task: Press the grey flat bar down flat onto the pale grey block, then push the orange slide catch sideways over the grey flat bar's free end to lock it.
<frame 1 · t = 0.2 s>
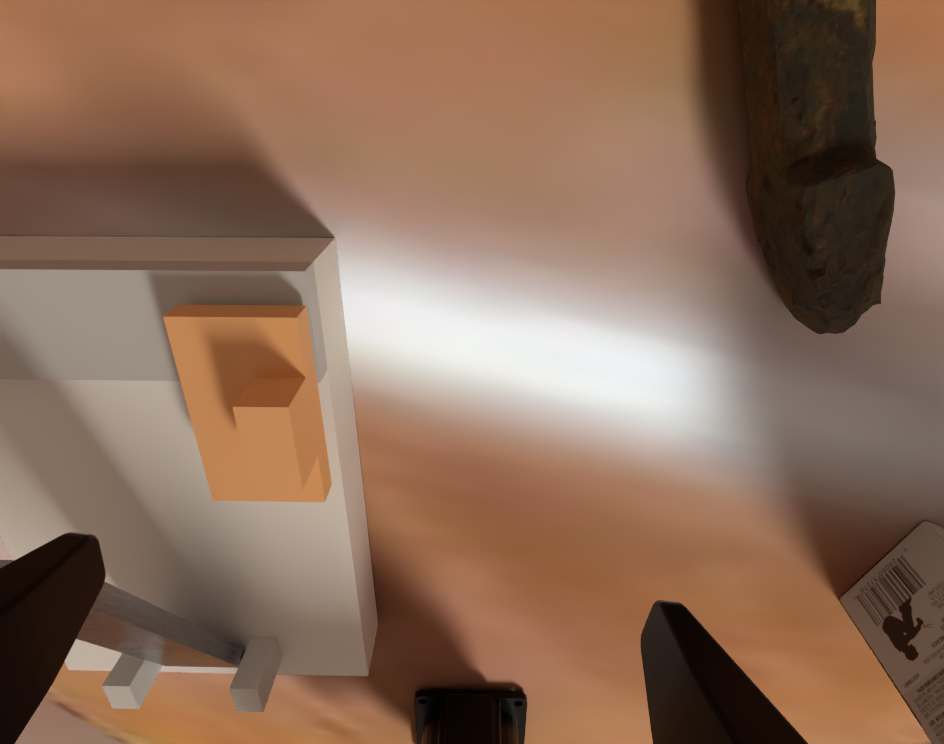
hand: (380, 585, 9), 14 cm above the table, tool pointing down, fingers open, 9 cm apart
grey flat bar: (131, 629, 21), point 7 cm above the table, hinge at 28.0°
hand tool: (786, 33, 18), on the table
mount block: (197, 465, 26), on the table
catch: (246, 424, 18), point 6 cm above the table, slide at -5.5 cm
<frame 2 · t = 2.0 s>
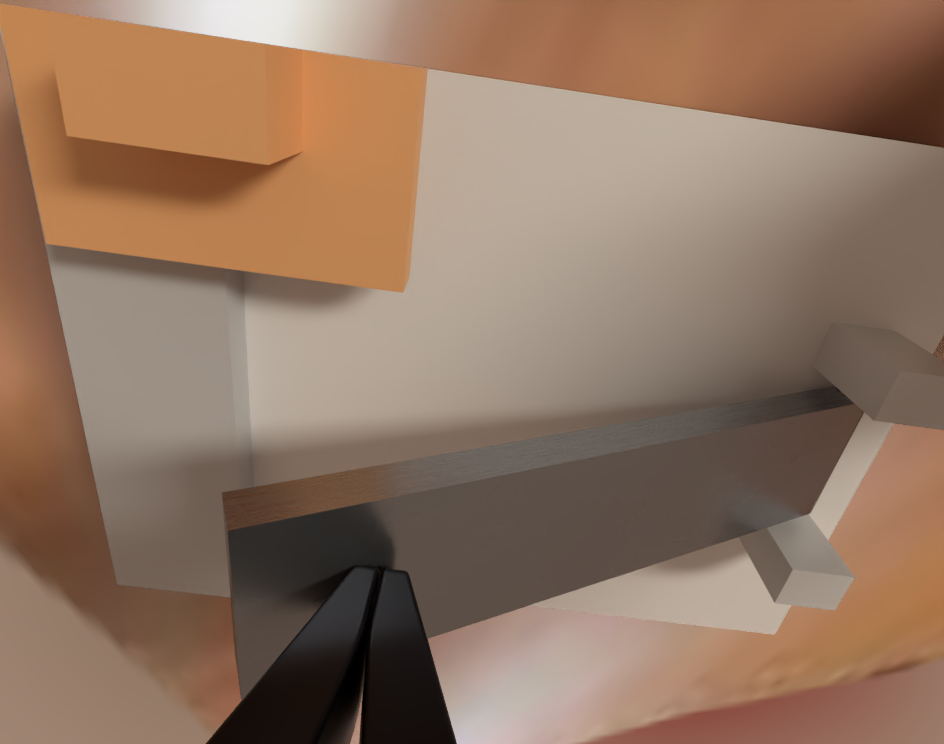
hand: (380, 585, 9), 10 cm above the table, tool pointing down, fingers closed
grey flat bar: (615, 504, 12), point 7 cm above the table, hinge at 27.4°, touching gripper
mount block: (496, 352, 18), on the table
catch: (210, 165, 10), point 6 cm above the table, slide at -5.5 cm
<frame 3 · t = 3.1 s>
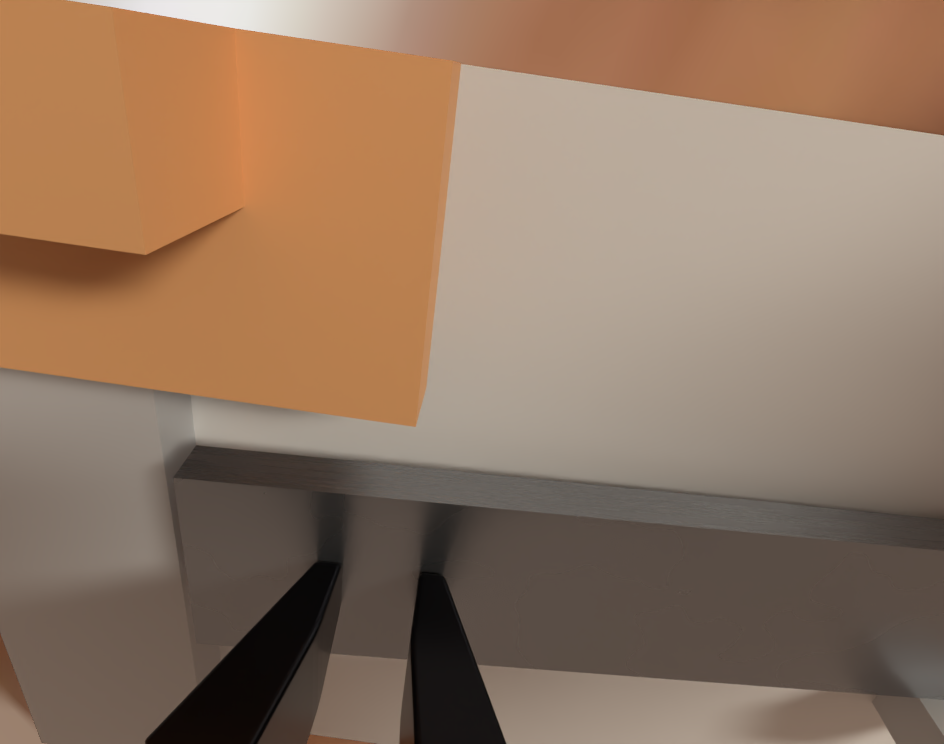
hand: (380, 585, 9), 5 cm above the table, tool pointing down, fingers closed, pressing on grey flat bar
grey flat bar: (639, 587, 10), point 4 cm above the table, hinge at 4.0°, touching gripper
mount block: (542, 443, 13), on the table
catch: (81, 233, 6), point 6 cm above the table, slide at -5.5 cm
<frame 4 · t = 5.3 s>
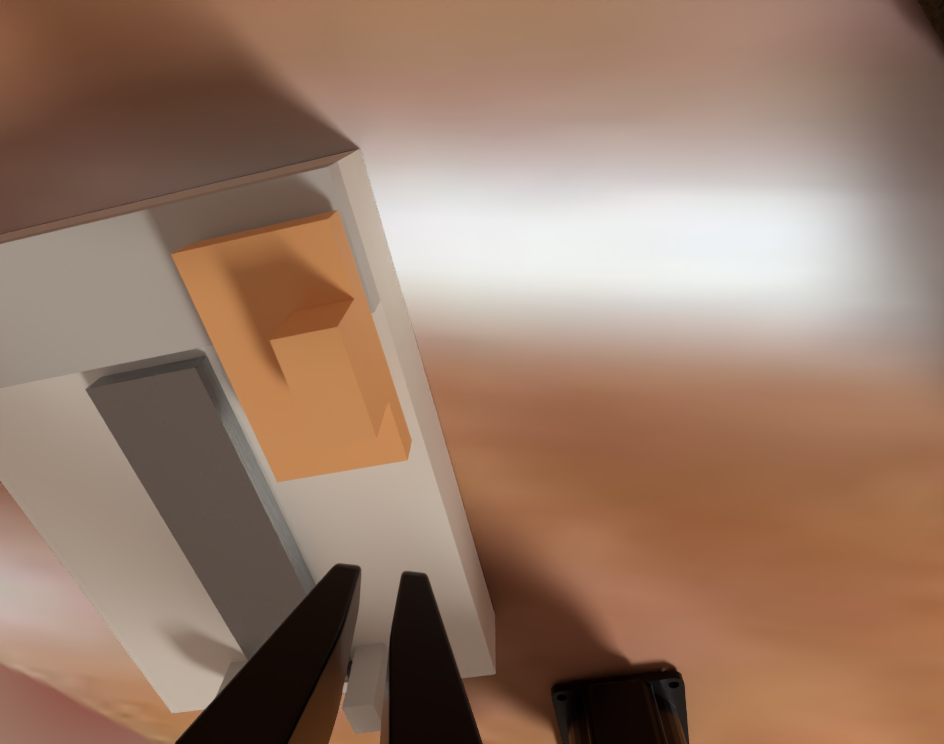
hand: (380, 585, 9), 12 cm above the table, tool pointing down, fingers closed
grey flat bar: (242, 552, 21), point 3 cm above the table, hinge at 0.0°
mount block: (261, 461, 23), on the table
catch: (295, 373, 15), point 6 cm above the table, slide at -5.5 cm
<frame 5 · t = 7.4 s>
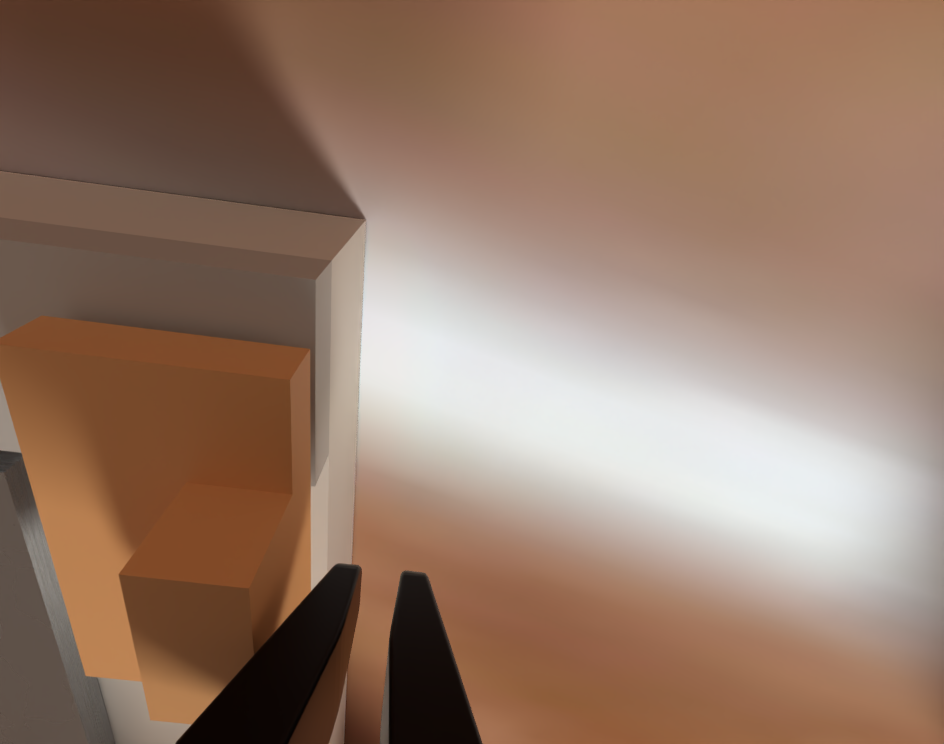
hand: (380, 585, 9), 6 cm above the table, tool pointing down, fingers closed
grey flat bar: (16, 695, 14), point 3 cm above the table, hinge at 0.0°
mount block: (92, 548, 17), on the table
catch: (158, 571, 9), point 6 cm above the table, slide at -5.5 cm, touching gripper
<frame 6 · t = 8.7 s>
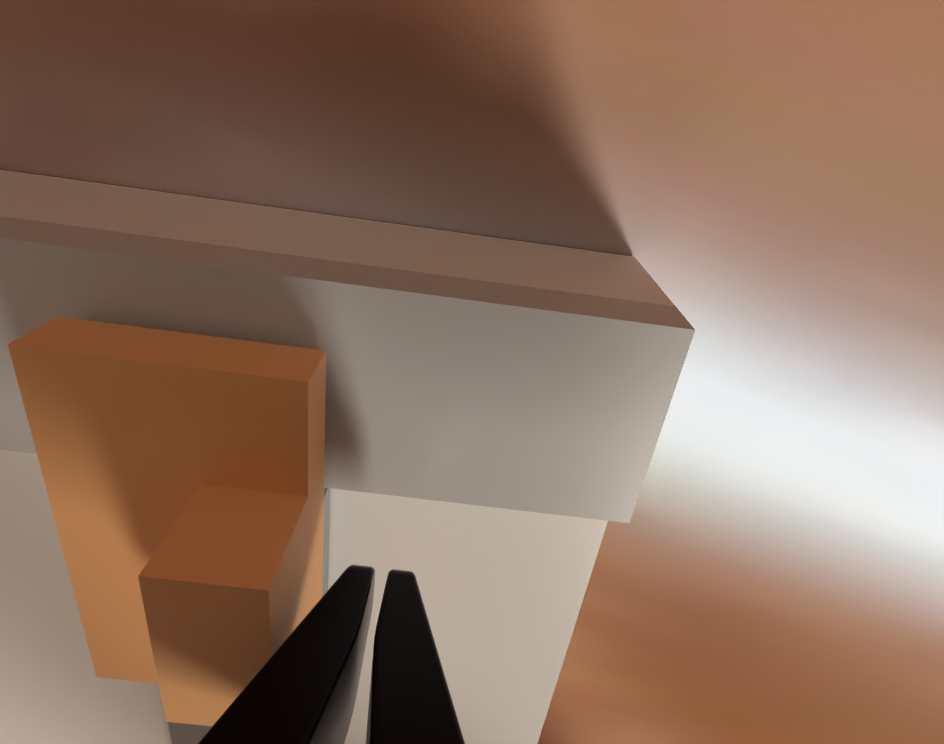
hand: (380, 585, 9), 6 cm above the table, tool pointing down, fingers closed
grey flat bar: (249, 718, 14), point 3 cm above the table, hinge at 0.0°
mount block: (290, 569, 17), on the table
catch: (173, 572, 9), point 6 cm above the table, slide at 0.0 cm, touching gripper
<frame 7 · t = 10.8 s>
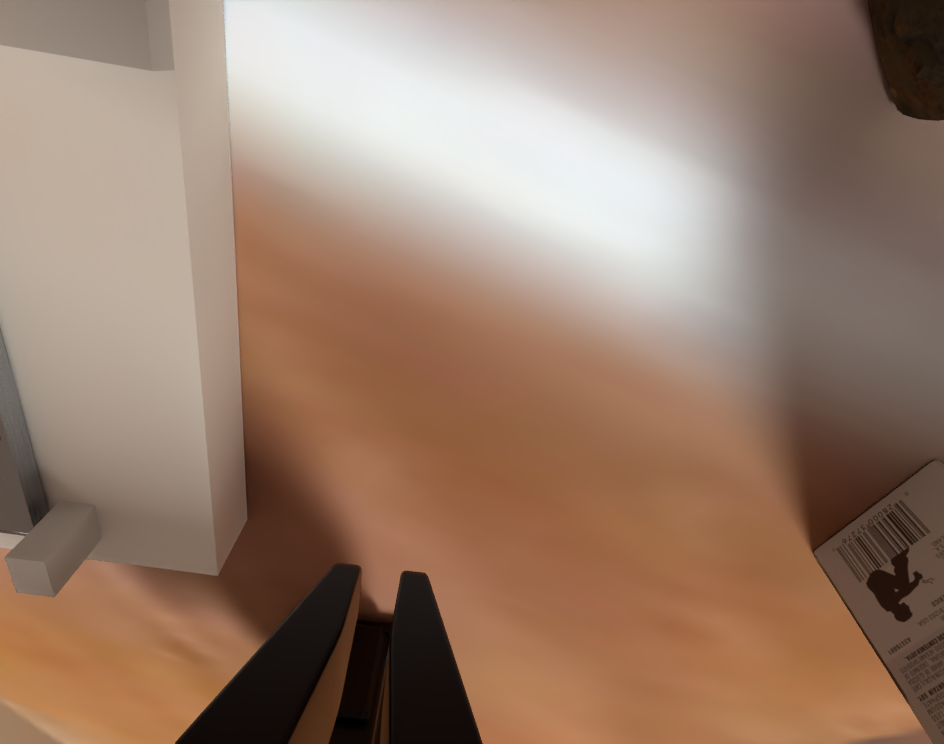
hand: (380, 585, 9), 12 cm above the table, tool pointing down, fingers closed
mount block: (7, 252, 19), on the table
coffee box: (936, 547, 24), on the table
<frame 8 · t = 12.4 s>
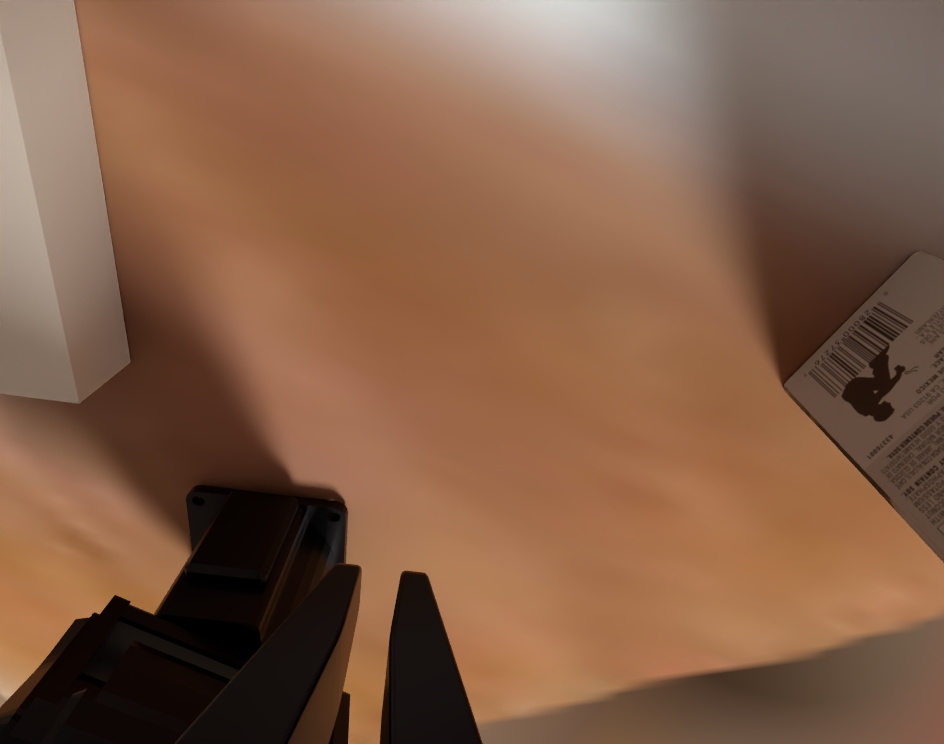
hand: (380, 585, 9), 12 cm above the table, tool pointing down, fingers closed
coffee box: (926, 377, 21), on the table
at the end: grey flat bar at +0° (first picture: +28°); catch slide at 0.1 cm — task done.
